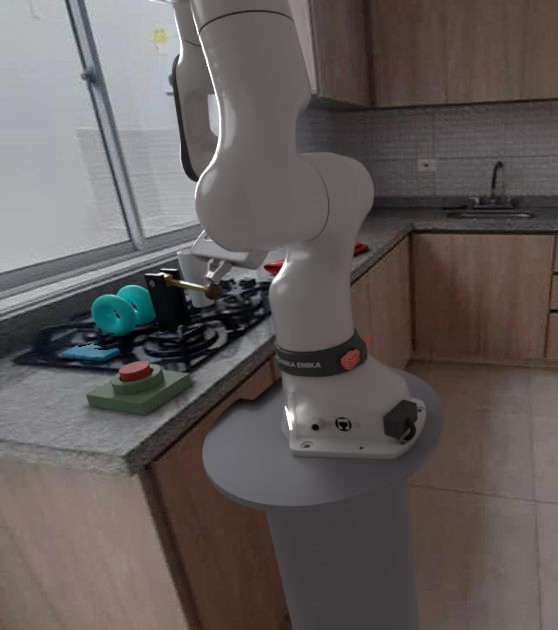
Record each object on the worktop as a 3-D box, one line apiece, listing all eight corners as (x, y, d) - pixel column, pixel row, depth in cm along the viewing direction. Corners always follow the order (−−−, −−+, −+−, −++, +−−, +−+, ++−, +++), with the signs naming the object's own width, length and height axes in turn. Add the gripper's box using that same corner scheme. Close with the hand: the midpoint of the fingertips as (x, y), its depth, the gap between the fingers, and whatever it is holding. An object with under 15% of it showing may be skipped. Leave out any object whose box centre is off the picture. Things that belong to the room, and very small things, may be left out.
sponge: (92, 362, 87) (120, 347, 91) (58, 353, 92) (87, 339, 96) (95, 368, 87) (123, 353, 92) (62, 359, 92) (90, 345, 97)
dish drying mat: (369, 249, 173) (369, 240, 172) (300, 278, 139) (298, 267, 138) (337, 247, 180) (336, 238, 178) (263, 274, 146) (261, 263, 144)
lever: (227, 298, 95) (226, 282, 93) (215, 304, 92) (214, 288, 90) (166, 283, 98) (164, 268, 97) (152, 288, 95) (150, 273, 94)
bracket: (206, 328, 103) (192, 267, 98) (176, 344, 95) (158, 278, 90) (179, 325, 106) (163, 265, 100) (148, 341, 98) (129, 277, 92)
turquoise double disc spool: (96, 338, 101) (82, 297, 97) (128, 321, 110) (116, 283, 106) (135, 338, 99) (122, 297, 96) (165, 322, 109) (154, 283, 105)
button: (157, 371, 76) (155, 362, 75) (135, 384, 72) (132, 374, 71) (138, 368, 77) (135, 359, 76) (115, 381, 73) (112, 371, 73)
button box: (192, 383, 78) (187, 363, 77) (145, 415, 70) (137, 393, 68) (141, 376, 82) (135, 357, 81) (89, 406, 73) (81, 384, 72)
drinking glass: (213, 308, 116) (200, 252, 111) (186, 310, 116) (172, 254, 110) (220, 300, 123) (208, 247, 117) (195, 302, 122) (182, 248, 116)
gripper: (201, 215, 99) (170, 268, 95) (261, 219, 88) (229, 279, 84) (223, 231, 104) (194, 282, 100) (282, 237, 94) (253, 294, 90)
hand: (210, 281), depth 92 cm, fingers closed
